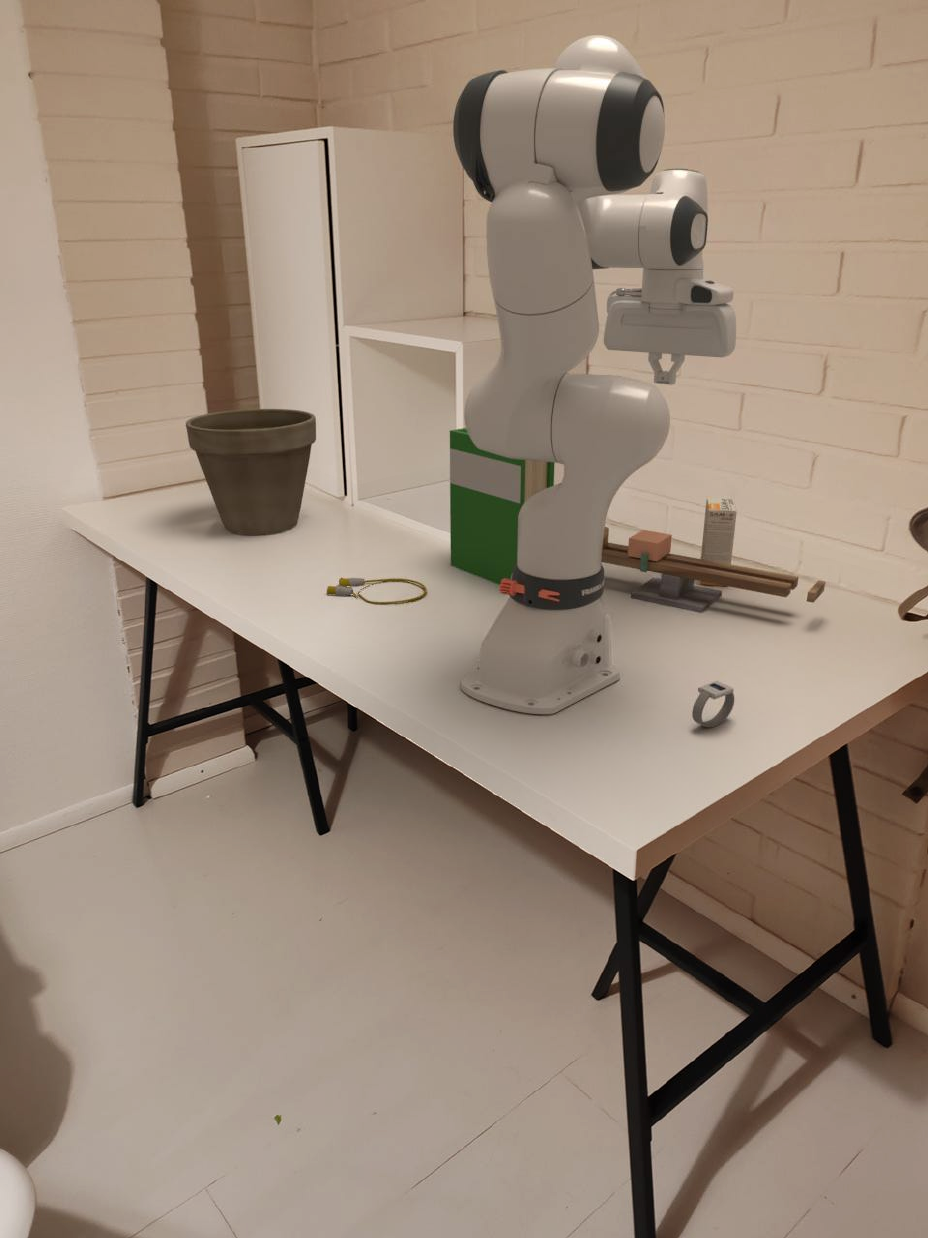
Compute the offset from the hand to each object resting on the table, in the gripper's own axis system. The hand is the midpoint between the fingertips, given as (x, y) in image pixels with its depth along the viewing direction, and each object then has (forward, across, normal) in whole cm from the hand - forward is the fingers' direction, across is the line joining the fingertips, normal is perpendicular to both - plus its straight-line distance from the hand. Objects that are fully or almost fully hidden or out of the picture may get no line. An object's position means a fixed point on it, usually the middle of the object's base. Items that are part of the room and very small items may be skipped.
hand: (664, 383), depth 149 cm
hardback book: (+33, -24, -9) cm, 42 cm away
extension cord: (+34, -36, -27) cm, 56 cm away
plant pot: (+33, -80, -10) cm, 87 cm away
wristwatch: (+33, +26, -42) cm, 60 cm away
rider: (+28, +1, -3) cm, 29 cm away
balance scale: (+33, +6, -3) cm, 34 cm away
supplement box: (+33, +8, +9) cm, 35 cm away
